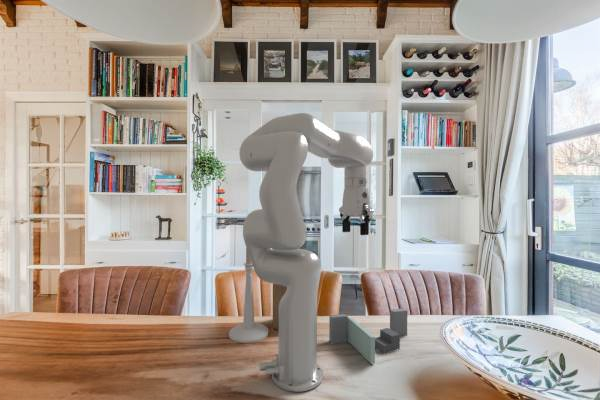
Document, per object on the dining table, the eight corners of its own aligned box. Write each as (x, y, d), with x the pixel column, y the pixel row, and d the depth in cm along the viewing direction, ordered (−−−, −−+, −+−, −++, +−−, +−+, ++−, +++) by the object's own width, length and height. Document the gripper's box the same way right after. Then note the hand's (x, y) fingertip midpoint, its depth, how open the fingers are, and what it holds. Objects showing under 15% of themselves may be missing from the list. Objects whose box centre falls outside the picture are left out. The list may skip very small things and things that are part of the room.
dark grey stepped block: (387, 342, 93) (387, 327, 93) (399, 349, 89) (399, 334, 89) (372, 346, 90) (372, 331, 90) (384, 354, 86) (384, 338, 86)
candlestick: (261, 344, 91) (262, 245, 91) (222, 340, 93) (222, 244, 93) (272, 326, 104) (273, 239, 104) (237, 323, 106) (238, 238, 106)
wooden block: (302, 330, 101) (302, 271, 101) (272, 330, 101) (272, 270, 101) (302, 319, 111) (302, 264, 111) (275, 318, 111) (275, 264, 111)
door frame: (331, 343, 92) (331, 317, 92) (329, 340, 94) (329, 315, 94) (407, 335, 98) (407, 310, 98) (403, 332, 100) (403, 308, 100)
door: (345, 338, 94) (345, 316, 94) (349, 337, 95) (349, 315, 95) (370, 363, 80) (370, 337, 80) (375, 362, 80) (375, 336, 80)
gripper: (381, 183, 98) (381, 235, 98) (348, 185, 113) (348, 230, 113) (363, 182, 95) (363, 236, 95) (332, 184, 110) (331, 231, 110)
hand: (355, 233), depth 104 cm, fingers open, 9 cm apart
